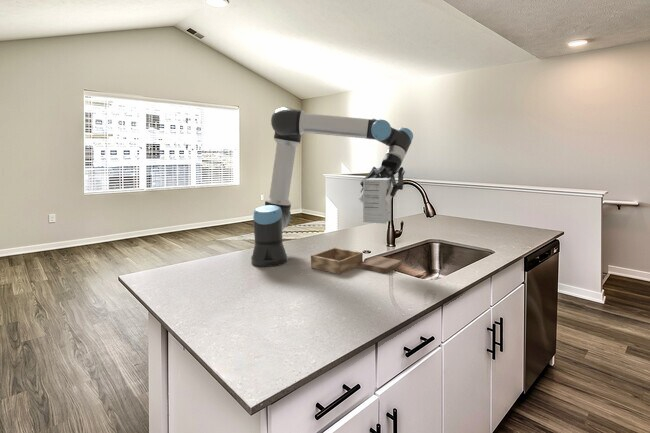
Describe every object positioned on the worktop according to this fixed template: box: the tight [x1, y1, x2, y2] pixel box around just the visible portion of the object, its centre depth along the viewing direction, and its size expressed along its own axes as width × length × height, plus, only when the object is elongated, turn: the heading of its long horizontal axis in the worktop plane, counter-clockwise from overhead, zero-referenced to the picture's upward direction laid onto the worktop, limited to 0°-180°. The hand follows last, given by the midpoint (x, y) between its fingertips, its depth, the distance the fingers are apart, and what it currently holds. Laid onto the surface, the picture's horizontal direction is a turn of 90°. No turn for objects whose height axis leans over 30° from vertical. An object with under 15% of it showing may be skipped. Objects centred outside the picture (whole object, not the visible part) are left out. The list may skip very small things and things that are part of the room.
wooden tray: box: [310, 247, 364, 275], centre depth 155 cm, size 14×16×5 cm
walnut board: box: [358, 255, 403, 274], centre depth 154 cm, size 12×13×2 cm
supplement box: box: [362, 178, 393, 225], centre depth 150 cm, size 10×9×17 cm
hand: (373, 201), depth 147 cm, fingers closed on supplement box, 11 cm apart
